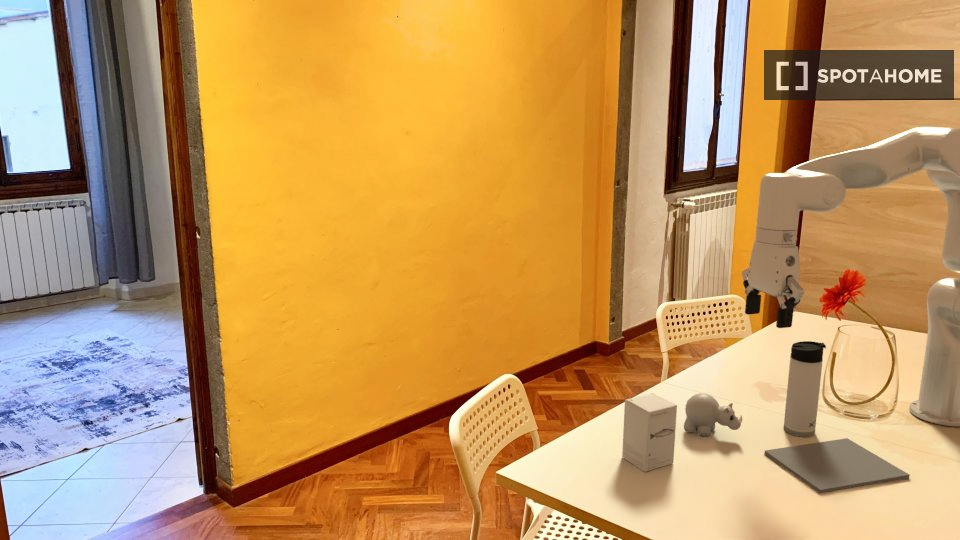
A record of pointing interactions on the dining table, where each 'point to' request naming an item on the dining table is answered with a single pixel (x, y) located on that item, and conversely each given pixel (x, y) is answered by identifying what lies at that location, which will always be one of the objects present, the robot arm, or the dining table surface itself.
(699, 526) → the dining table surface
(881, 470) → the mat
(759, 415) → the dining table surface
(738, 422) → the chubby cartoon animal
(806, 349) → the travel mug
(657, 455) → the supplement box
